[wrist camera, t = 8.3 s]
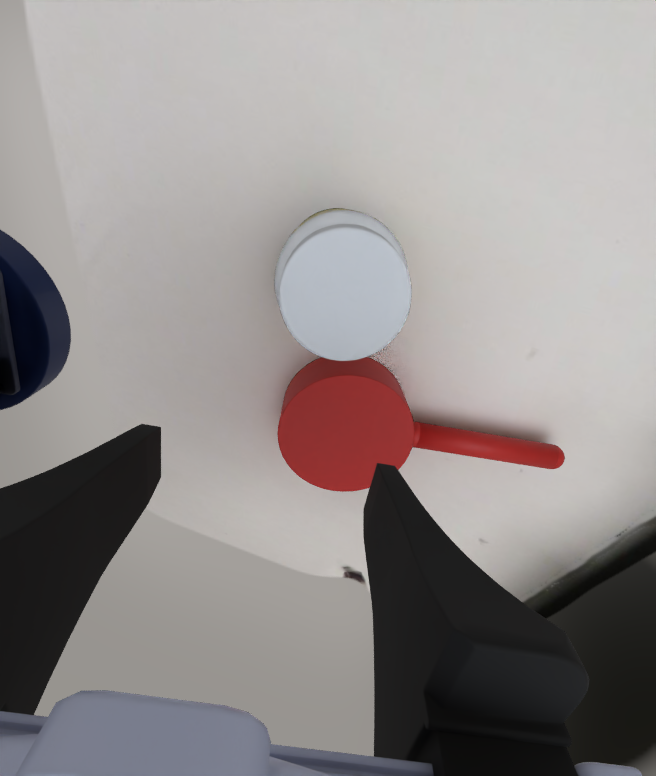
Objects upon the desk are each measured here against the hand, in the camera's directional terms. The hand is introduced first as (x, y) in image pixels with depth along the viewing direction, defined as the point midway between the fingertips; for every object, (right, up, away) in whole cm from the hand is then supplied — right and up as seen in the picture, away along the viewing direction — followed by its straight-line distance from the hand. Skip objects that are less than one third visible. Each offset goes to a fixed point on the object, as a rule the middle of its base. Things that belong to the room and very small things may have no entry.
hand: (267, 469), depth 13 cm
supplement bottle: (+2, +9, +6) cm, 11 cm away
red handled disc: (+7, +1, +10) cm, 13 cm away
